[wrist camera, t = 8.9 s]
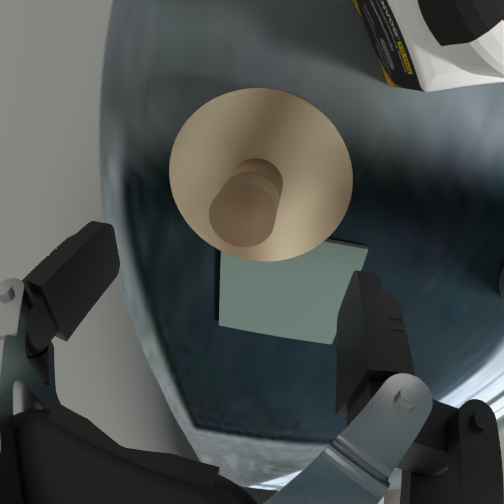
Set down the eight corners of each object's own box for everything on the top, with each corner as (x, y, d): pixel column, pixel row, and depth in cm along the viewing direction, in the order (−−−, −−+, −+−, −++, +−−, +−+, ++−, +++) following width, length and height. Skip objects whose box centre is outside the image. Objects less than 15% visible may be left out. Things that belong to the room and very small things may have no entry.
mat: (367, 246, 23) (368, 249, 23) (331, 340, 30) (331, 344, 30) (223, 221, 24) (222, 224, 24) (220, 321, 31) (219, 325, 31)
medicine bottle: (349, -4, 13) (393, -82, 3) (435, -14, 11) (529, -58, 1) (387, 87, 16) (476, 106, 6) (468, 73, 14) (584, 96, 4)
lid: (365, 105, 14) (393, 118, 9) (329, 262, 20) (332, 324, 15) (178, 83, 15) (126, 91, 10) (179, 237, 20) (144, 288, 16)
